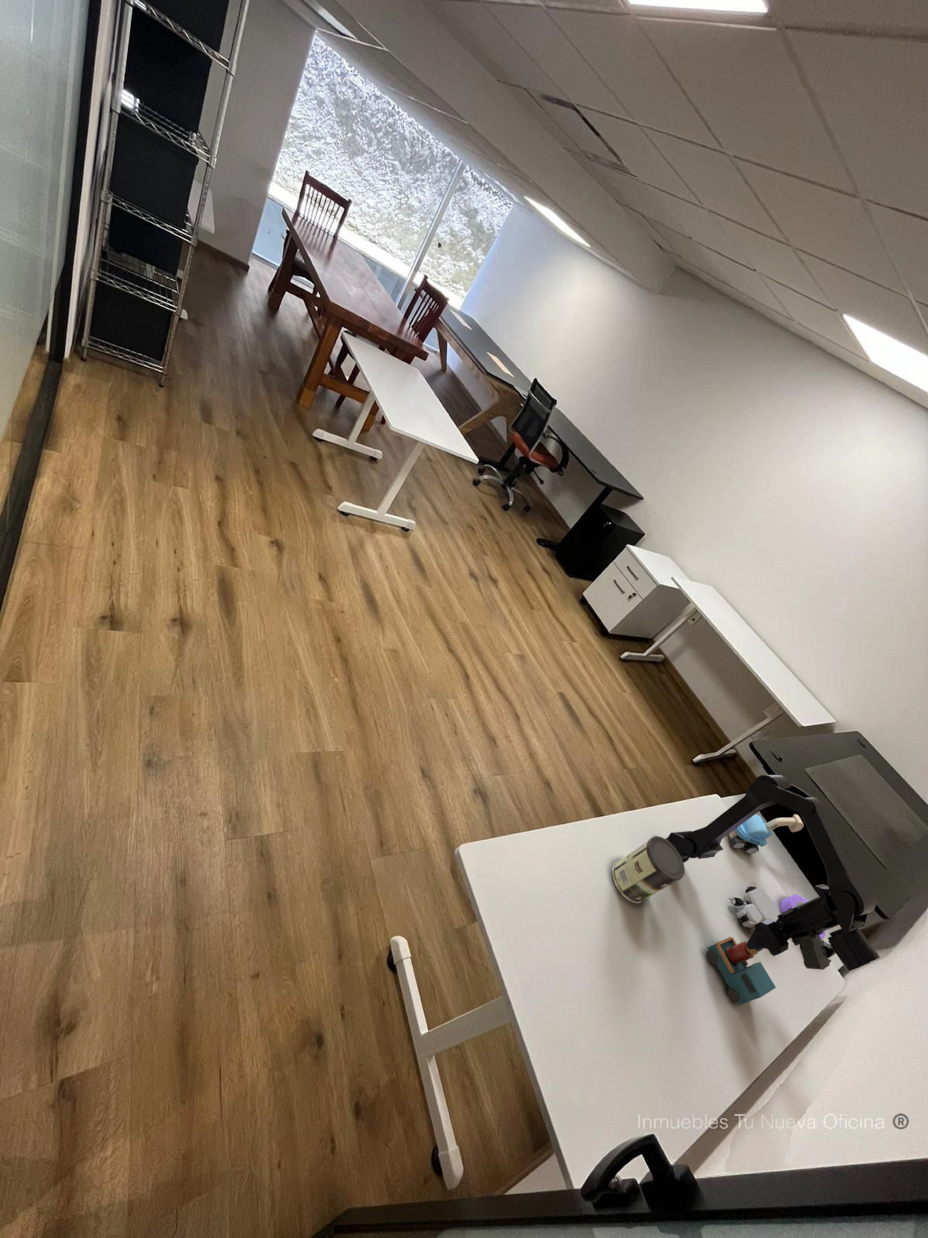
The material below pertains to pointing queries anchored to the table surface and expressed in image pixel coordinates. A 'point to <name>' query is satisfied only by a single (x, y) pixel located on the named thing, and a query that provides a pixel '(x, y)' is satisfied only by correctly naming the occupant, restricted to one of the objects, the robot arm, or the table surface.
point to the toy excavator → (760, 832)
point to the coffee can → (648, 870)
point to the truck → (740, 974)
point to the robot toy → (755, 907)
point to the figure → (740, 953)
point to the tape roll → (793, 902)
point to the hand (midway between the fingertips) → (757, 942)
